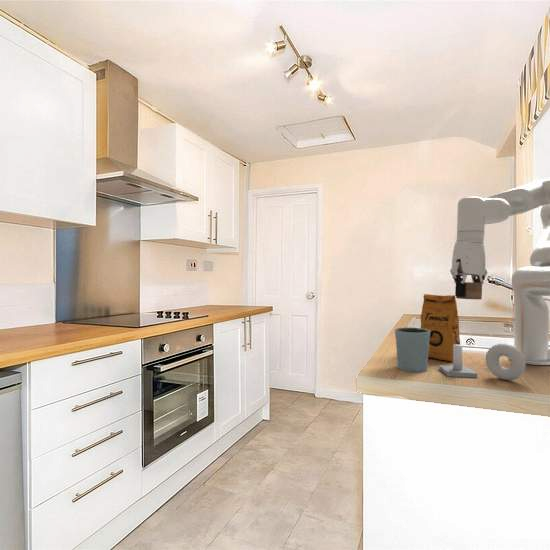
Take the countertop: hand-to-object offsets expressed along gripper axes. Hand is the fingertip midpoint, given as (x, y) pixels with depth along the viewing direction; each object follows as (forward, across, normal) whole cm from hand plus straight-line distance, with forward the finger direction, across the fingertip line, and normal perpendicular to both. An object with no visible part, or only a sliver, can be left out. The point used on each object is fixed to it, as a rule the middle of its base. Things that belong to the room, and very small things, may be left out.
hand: (468, 296), depth 118 cm
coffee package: (+22, -5, -14) cm, 27 cm away
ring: (+1, 0, 0) cm, 1 cm away
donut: (+22, +1, +12) cm, 26 cm away
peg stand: (+22, +7, +2) cm, 23 cm away
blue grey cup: (+23, +15, -8) cm, 28 cm away
